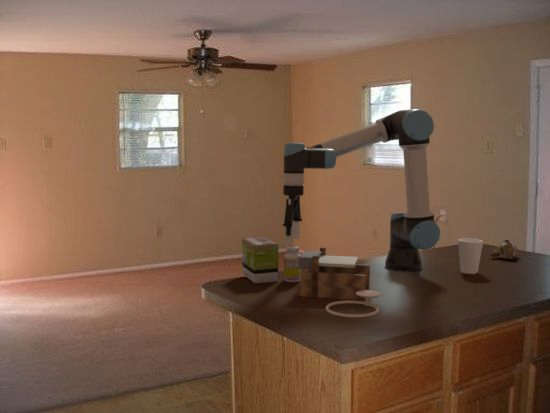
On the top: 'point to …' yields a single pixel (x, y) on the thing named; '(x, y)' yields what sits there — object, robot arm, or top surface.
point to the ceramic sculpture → (505, 250)
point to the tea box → (260, 259)
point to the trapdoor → (325, 260)
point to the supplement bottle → (292, 265)
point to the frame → (334, 281)
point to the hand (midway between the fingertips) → (292, 241)
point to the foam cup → (469, 254)
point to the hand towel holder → (363, 293)
